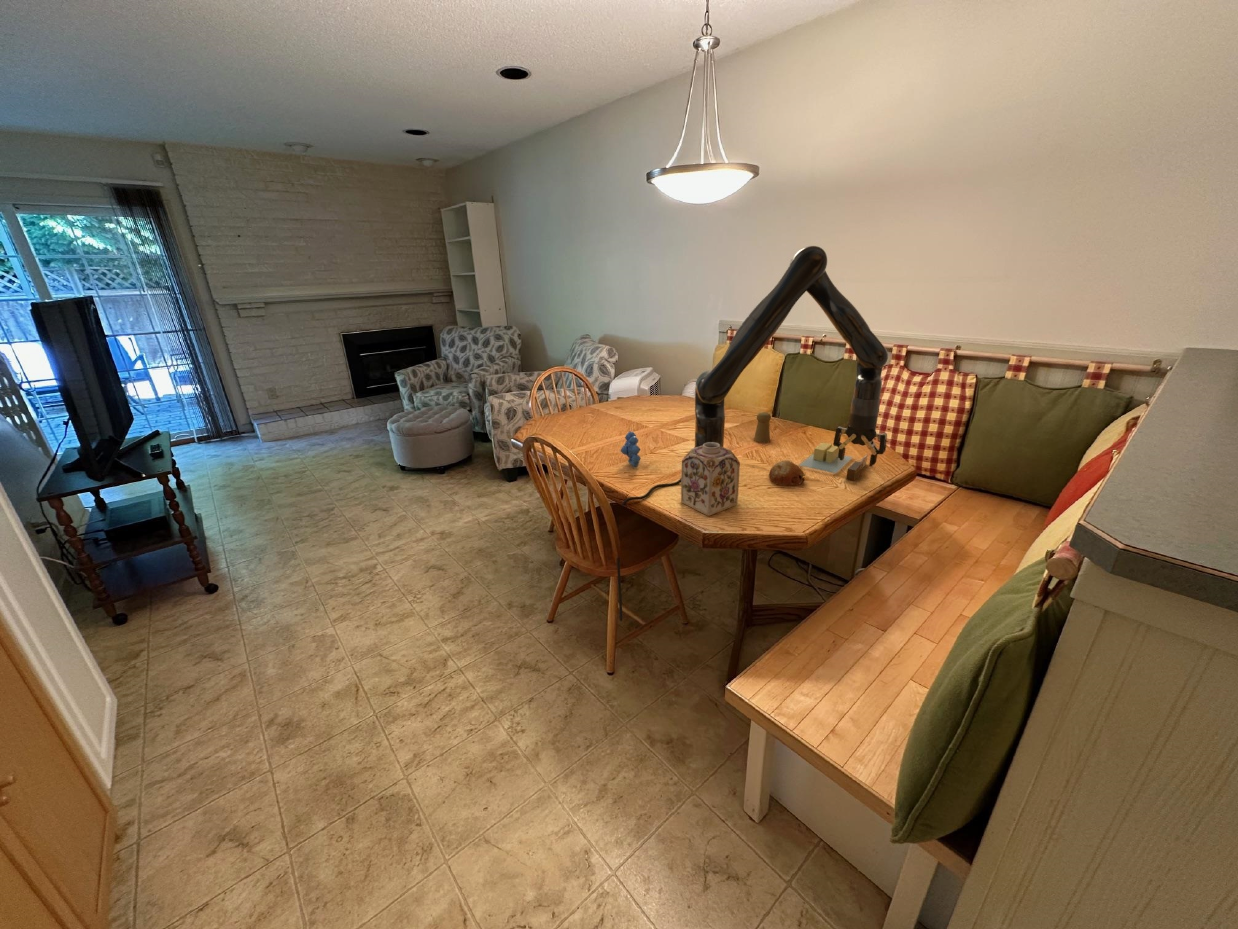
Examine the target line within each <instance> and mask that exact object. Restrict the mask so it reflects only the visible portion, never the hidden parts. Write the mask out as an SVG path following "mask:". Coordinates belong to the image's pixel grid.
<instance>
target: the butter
mask: <svg viewBox="0 0 1238 929" xmlns="http://www.w3.org/2000/svg"><path fill="white" fill-rule="evenodd" d="M831 447H833V443H830V442H821V443H819V444H818V445H817V446H816V447H814V449H813V454H814V456H813V459H814V460H818V461H823V460H825V459H826V455H827V451H828V450H829V449H830V448H831Z"/></svg>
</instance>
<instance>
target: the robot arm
mask: <svg viewBox="0 0 1238 929" xmlns="http://www.w3.org/2000/svg"><path fill="white" fill-rule="evenodd" d="M827 266H828V256H827V253H826V251H825V250H824V249H823V248H822V247H820V246H818V245H808V246H805V247H803V248H800V250H798V251H797V252H796V253H795V254H794V255H793V257H792V258H791V259H790V262H789V265H788V267H787V269H786V270H785V272H784V273H783V275H782V277H781V278H780V280H779V281H778V283H777V284H776V285H775V286H774V287H773V288H772V290H771V291H770V292H769V293H767V294H766V296H765V297H763V298H762V299H761V301H760V302H759V303H757V305H756V306H755V307H754V308H753V309H752V310H751V312H750V313H748V315H747V317H746V318H745V319H744V320H743V322H742V323H741V324H740V326H739V327H738V329H736V332H735V334H734V336H733V337H732V339H731V341H730V343H729V345H728V347H727V350H726V351H725V353H724V354H723V356H722V357H721V359H720V360H719V361H718V363H717V364H716V365H715V366H714V367H713V369H710V370H706V371H703V372H702V373H701V374H699V376H697V378H696V380H695V389H694V390H695V391H694V418H695V419H694V421H695V422H694V447H693V448H695V447H699V446H703V444H704V443H708V442H715V443H718V444H720V447H723V448H725V447H724V446H725V445H724V444H725V426H726V425H725V424H726V412H725V411H726V410H725V400H726V399H725V398H727V396H728V394H729V393H730V391H731V389H732V388H733V387H734V385H735V383H736V382H737V380H738V379H739V377H740V376H741V374H742V373H743V371H744V370H746V368H747V367H748V366H749V365H750V364H751V363H752V362H753V361H754V359H755V358H756V356H758V354H759V353H760V352H761V351H762V350H763V349H764V347H765V346H766V345H767V344H768V343H769V341H770V340H771V339H772V337H773V336H774V335H775V334H776V332H777V330H779V328H780V327H781V326H782V324H783V323H784V321H785V320H786V319H787V317H788V315H789V314H790V313H791V310H793V308H794V307H795V305H796V304H797V302H798V301H799V300H800V299H801V297H802V296H803V295H804V294H805V293H808V294H809V295H810V297H811V298H812V299H813V300H814V301H815V302H816V304H817V305H818V306H819V307H820V309H821V311H823V313H824V314H825V316H826V317H827V319H828V320H829V322H830V323H831V324H832V326H833V328H834V329H835V330H836V331H837V333H838V334H839V336H841V338H842V340H844V342H845V343H846V344H847V345H848V346H849V347H850V349H851V350H852V352H853V354H854V355H855V357H856V358H857V361H856V378H855V383H854V390H853V396H852V399H851V403H850V410H849V417H848V423H847V428H845V427H843V426H842V425H840V426H838V427H837V428H836V429H835V434H834V438H833V443H832V446H837V447H838V448H839V454H838V458H840V460H843V459H844V456H846V455H845V454H846V449H847V448H846V446H848V445H849V444H850V443H851V444H852V445H858V446H865V447H866V448H867V449H868V450H869V451H870V453H871V454H870V458H869V464H868V466H869V467H874V465H876V463H877V459H878V456H879V455H883V454H884V453H885V452H886V449H887V448H886V447H887V438H888V433H886V432H883V433H878V432H877V431H876V430H877V424H878V418H879V413H880V406H881V405H880V402H881V400H880V399H881V395H882V394H881V393H882V388H883V380H882V372H883V367H884V366H885V365H886V364H887V363H888V359H889V352H888V350H887V348H886V347H885V346H884V344H883V343H882V342H881V341H880V340H879V339H878V337H877V336H876V335H875V333H874V332H873V331H872V330H871V328H870V325H869V324H868V323H867V321H866V320H865V318H864V317H863V316H862V314H861V313H860V311H859V310H858V309H857V308H856V306H855V305H854V304H853V303H852V302H851V301H850V300H849V299H848V298H847V297H846V296H845V295H844V294H843V293H842V292H841V291H840V290H839V288H838V287H837V286H836V285H835V284H834V283H833V281H832V279H831V278H830V276H829V275H828V273H827V271H826V270H827ZM844 433H845V435H846V436H847V439H846V440H844V441H843V442H841V439H842V435H844ZM875 438H877V441H879V446H878V447H877V446H876V443H875V441H874V439H875ZM679 484H681V478H679V479H678V480H677V481H674V482H671V483H661V484H656V485H654V486H652V487H651V488H650V489H649V490H648V491H647V492H646V493H645V494H643V495H641V496H630V497H627V498H626V499H624V500H623V501H622V503H621V506H625V505H626V504H627V502H630V501H635V500H637V501H639V500H640V501H641V500H644V499H646V498H648V496H649V497H650V495H651V493H653V491H654V490H656V489H659V488H665V487H673V486H676V485H679ZM616 569H617V588H618V606H619V608H618V609H619V621H620V622H622V621H623V596H622V580H621V578H622V577H621V557H620V556H619V557H616Z"/></svg>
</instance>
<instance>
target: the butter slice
mask: <svg viewBox="0 0 1238 929" xmlns="http://www.w3.org/2000/svg"><path fill="white" fill-rule="evenodd" d="M838 454H839V448H838V447H837V446H834V445H832V446H831V448H830V449H829V450H828V451H827V455H826V462H828V463H832V462H833V461H834V460H835V459H836V458H837V457H838Z"/></svg>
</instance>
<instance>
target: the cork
mask: <svg viewBox="0 0 1238 929" xmlns="http://www.w3.org/2000/svg"><path fill="white" fill-rule="evenodd" d="M771 419H772V415H771V413H769V412H766V411H761V412H759V413H757V415H756V420H757V424H756V428H755V433H754V438H753V441H754V442H757V443H763V444H764V443H765V444H766V443H769V442H770V441H771V433H770V432H771V431H770V421H771Z"/></svg>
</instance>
